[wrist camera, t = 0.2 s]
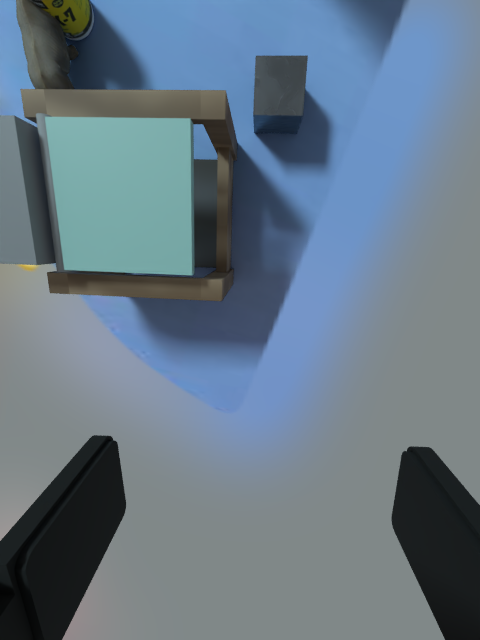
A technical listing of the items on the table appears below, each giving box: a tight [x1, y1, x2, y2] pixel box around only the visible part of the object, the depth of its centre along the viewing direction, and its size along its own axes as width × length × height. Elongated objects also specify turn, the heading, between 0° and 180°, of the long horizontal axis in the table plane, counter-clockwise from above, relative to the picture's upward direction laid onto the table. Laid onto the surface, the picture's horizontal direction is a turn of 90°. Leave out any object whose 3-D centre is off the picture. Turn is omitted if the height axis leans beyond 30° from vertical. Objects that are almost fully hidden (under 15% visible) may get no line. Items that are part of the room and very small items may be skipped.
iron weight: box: [253, 56, 308, 134], centre depth 31 cm, size 5×5×5 cm
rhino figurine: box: [16, 0, 78, 89], centre depth 30 cm, size 4×14×6 cm, turn 8°
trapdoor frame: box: [21, 89, 237, 301], centre depth 31 cm, size 17×17×12 cm
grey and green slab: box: [0, 113, 194, 275], centre depth 24 cm, size 12×19×4 cm, turn 88°
